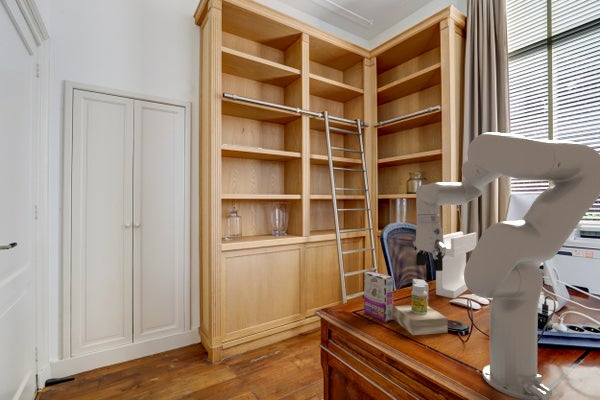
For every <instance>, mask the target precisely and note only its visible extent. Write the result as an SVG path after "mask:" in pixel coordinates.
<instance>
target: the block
mask: <svg viewBox="0 0 600 400" xmlns="http://www.w3.org/2000/svg"><path fill="white" fill-rule="evenodd" d="M443 241H444V246H445V247H446V248H447V249H446V252H445V255H444V259H442V262H443V270H442V271H435V294H436V295H438V296H441V297H445V298H451V299H455V298H457V297H459V296H460V295H462V294H463V293H464V292H467V290H468V291H469V289H468V288H467V286H466V284H465V281H464V270H465V266H466V264H467V253H469V252H471V251H473V250H474V249H475V247H476V245H477V232H471V233H467V234H464V232H463V231H457V232H452V233H447V234H443ZM437 254H438V253H436V255H437Z"/></svg>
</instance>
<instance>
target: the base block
mask: <svg viewBox="0 0 600 400" xmlns="http://www.w3.org/2000/svg"><path fill="white" fill-rule="evenodd" d="M393 320H394V321H395V322H397V324H399V325H400V327H402V328H403V329H404V330H406V331H407V332H408V333H410V334H411V335H412V336H420V335H421V336H423V335H433V334H446V333H448V331H449V330H448V327H449V326H448V324H449V323H448V322H449V320H448V317H446V315H444V314H442V313H440V312H439V311H437V310H435V309H433V308H432V307H431V306H429V305H428V306H427V313H426V314H417V313H414V312H413V311H412V307H411V305H409V304H408V305H396V306H395V305H393Z"/></svg>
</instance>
